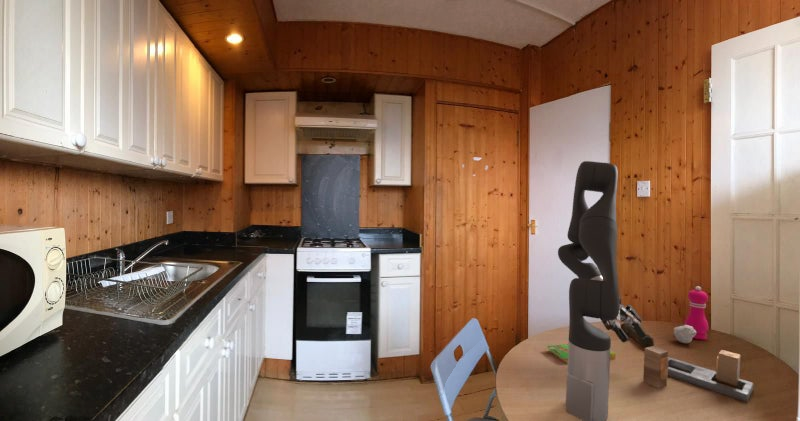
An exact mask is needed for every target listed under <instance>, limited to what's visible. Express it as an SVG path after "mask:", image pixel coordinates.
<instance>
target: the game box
mask: <svg viewBox="0 0 800 421" xmlns="http://www.w3.org/2000/svg"><path fill="white" fill-rule="evenodd" d="M545 349H547V350H548V352H550V353H551V354H552V355H554V356H555V357H557V358H558V357H559V359H560V360H561V359H562V360H561V361H563V362H565V363H566V364H567V365H568V344H567V343H566V344H564V343H563V344H555V345H546V346H545ZM615 359H616V352H614V351H612V350H610V360H615Z"/></svg>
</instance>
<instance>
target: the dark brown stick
mask: <svg viewBox="0 0 800 421" xmlns="http://www.w3.org/2000/svg"><path fill="white" fill-rule="evenodd" d="M620 328H622V330H623V331H624V332H625V334H626V335H628V336H630V337H631V338H632V339H634V340H636V341H637V342H638V343H639V345H640V346H641V347H642V348H644V349H645V348H647V347H651V346H655V344H654V342H655V341H654V338H653V337H652V336H650V335H649V334H647V337H645V338H642V339H641V338H640V337H639V336H638V334H637V333H636V331H635V330H634V329H633V328H634V327H632V326H631V325H629V324H628V323H624V322H622V323H621V324H620Z"/></svg>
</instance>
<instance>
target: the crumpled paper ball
mask: <svg viewBox="0 0 800 421" xmlns="http://www.w3.org/2000/svg"><path fill="white" fill-rule="evenodd" d="M673 334H674V336H675V338H676V340H677V341H678V342H680V343H682V344H689V343H691V342H692V340H693V339H694V338H693V337H694V336H695V335H696V331H695V330H694V328H693V327H692V326H689V325H685V324H684V325H680V326H675V327H674V328H673Z"/></svg>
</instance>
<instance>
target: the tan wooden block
mask: <svg viewBox="0 0 800 421" xmlns="http://www.w3.org/2000/svg"><path fill="white" fill-rule="evenodd" d="M643 357H644V358H643V360H644V361H643V377H642V378H643V380H642V381H643V383H646V384H647V385H650V386H652V387H654V388H656V389H660V388H664V387H667V385H668V357H669V350H666V349H663V348H660V347H658V346H655V345H654V346H651V347H647V348H644V356H643Z"/></svg>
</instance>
